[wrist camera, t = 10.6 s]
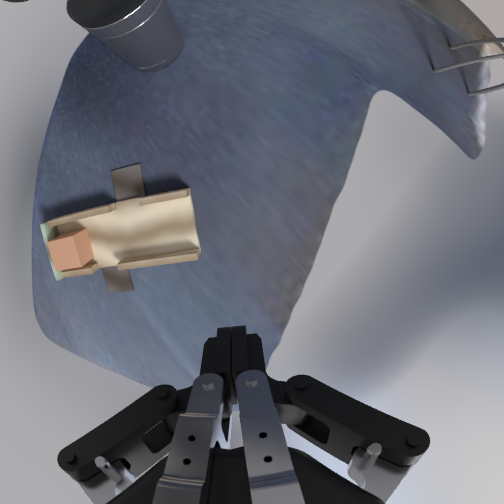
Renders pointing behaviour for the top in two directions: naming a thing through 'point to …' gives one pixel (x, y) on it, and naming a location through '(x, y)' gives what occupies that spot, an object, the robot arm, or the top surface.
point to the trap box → (131, 230)
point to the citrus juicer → (490, 40)
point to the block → (71, 250)
